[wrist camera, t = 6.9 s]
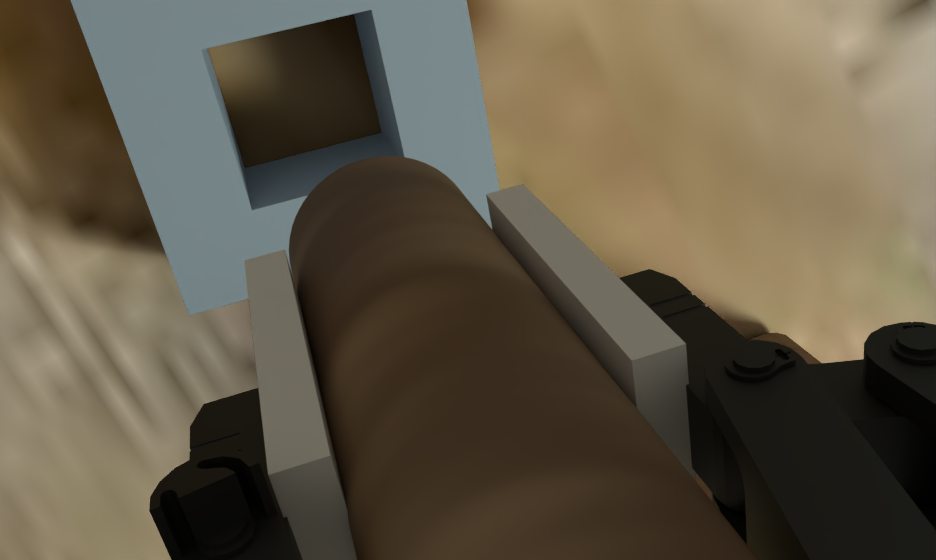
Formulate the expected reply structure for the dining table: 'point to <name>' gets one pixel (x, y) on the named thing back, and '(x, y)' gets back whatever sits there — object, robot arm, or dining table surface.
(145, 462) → the dining table surface
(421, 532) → the walnut peg
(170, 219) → the socket block
